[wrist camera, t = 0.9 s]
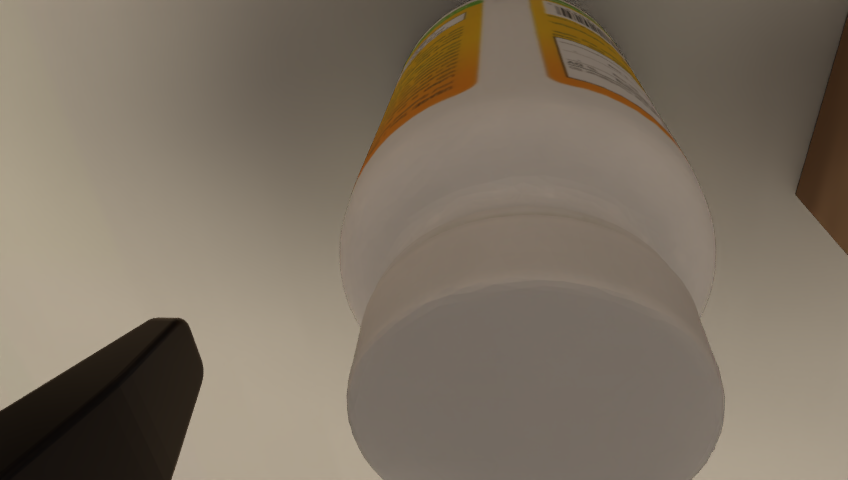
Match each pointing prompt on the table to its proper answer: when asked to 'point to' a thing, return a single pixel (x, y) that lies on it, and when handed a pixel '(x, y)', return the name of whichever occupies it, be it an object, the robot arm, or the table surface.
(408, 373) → the supplement bottle
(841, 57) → the block
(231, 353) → the table surface
